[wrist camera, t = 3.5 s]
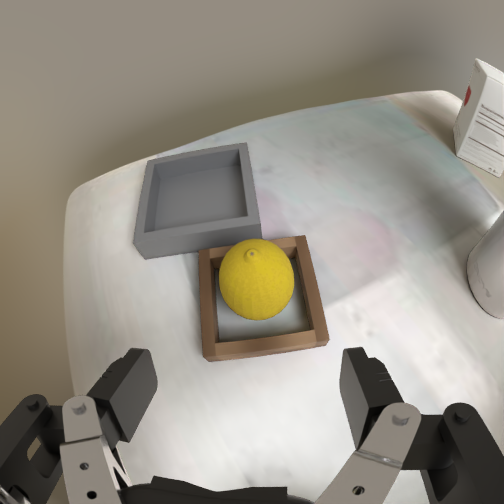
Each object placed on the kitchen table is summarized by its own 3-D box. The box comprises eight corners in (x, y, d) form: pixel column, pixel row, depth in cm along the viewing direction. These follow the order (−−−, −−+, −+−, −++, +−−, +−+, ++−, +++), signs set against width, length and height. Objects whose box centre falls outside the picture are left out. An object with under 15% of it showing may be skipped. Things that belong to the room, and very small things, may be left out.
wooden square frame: (303, 247, 27) (305, 235, 26) (325, 345, 22) (329, 339, 21) (203, 261, 28) (198, 250, 26) (208, 361, 22) (203, 357, 21)
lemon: (219, 287, 26) (197, 237, 19) (275, 264, 27) (273, 207, 20) (243, 342, 23) (227, 309, 16) (303, 315, 24) (313, 270, 17)
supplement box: (451, 128, 37) (474, 56, 25) (492, 148, 35) (520, 82, 22) (454, 156, 33) (486, 73, 21) (499, 179, 31) (537, 105, 18)
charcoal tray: (249, 161, 34) (246, 142, 32) (262, 242, 28) (260, 223, 26) (155, 178, 35) (147, 160, 32) (145, 259, 28) (133, 243, 26)
